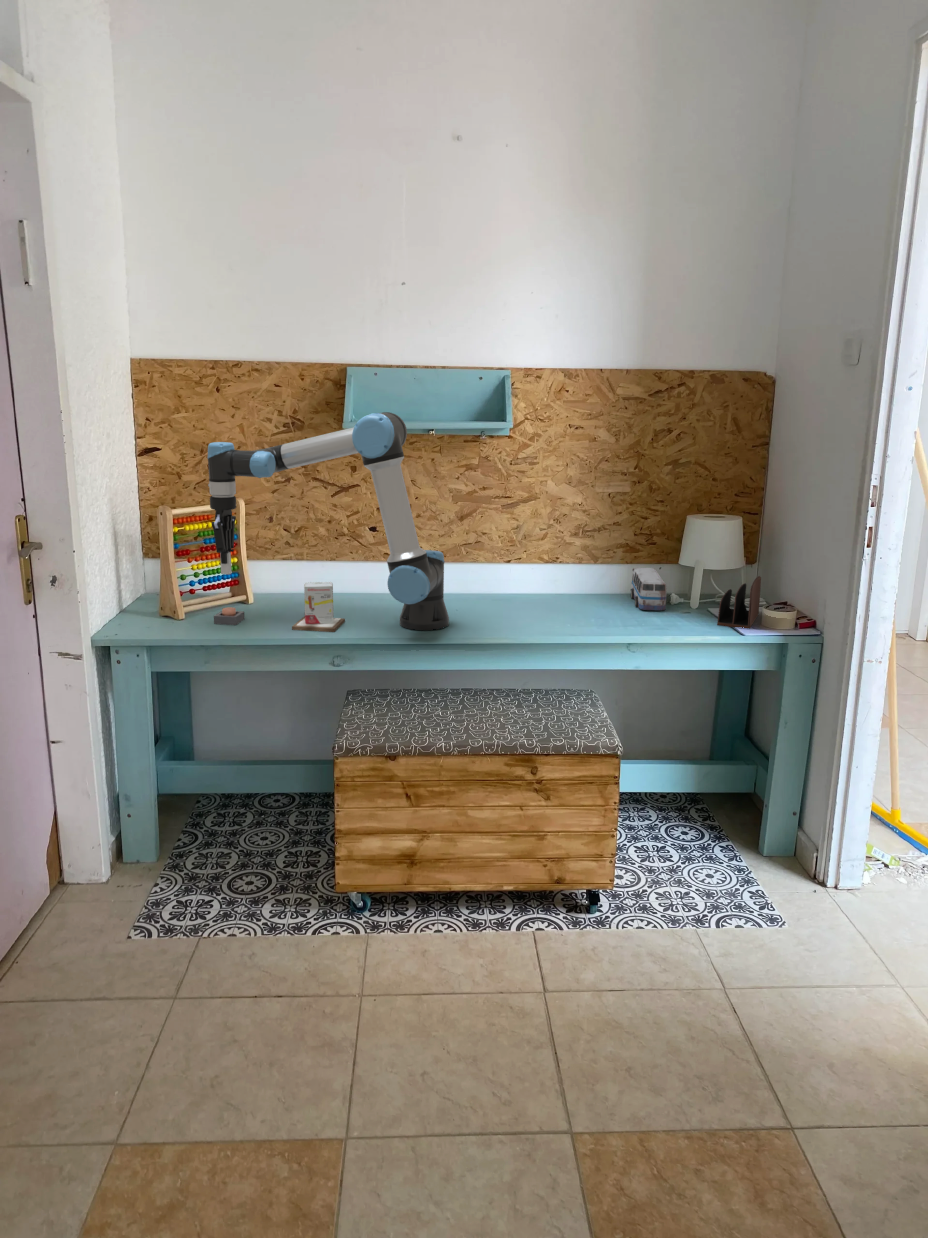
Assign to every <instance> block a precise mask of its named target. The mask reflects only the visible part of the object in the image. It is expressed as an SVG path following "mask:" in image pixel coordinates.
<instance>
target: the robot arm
mask: <svg viewBox="0 0 928 1238" xmlns="http://www.w3.org/2000/svg"><path fill="white" fill-rule="evenodd" d="M407 436H408V430H407V426H406V423H405V421H404V420H403V419H402V418H401V416H399V415H397V414H396V413H393V412H387V411H383V412H374V413H370V414H366V415H365V416H362V417H361V418H359V419H358V420H357V422H356V423H355V425H354V427H350V428H346V429H341V430H337V431H332V432H329V433H325V434H320V435H317V436H311V437H308V438H304V439H301V440H300V439H299V440H295V441H291V442H288V443H283V444H278V445H275V446H270V447H265V448H259V449H254V450H240V449H235V448H236V447H235V446H234V443H233V442H229V441H228V442H227V441H226V442H225V441H215V442H210V443H208V446H207V457H206V458H207V464H208V466H207V467H208V484H207V486H208V487H209V495H211V496H210V497H209V508H210V509H211V510H214V511H215V514H214V521H212V522H211V527H212V531H213V537H214V543H215V549H216V553H218V554H219V557H220V574H221V575H232V572H233V571H232V554H231V553H232V552H234V550H235V548H234V546H235V544H234V543H235V529H236V519H237V517H236V516H235V515H233V511H232V510H236V508H237V497H236V494H237V490H236V489H237V488H236V487H237V486H236V477H247V478H259V479H262V478H271V477H272V476H273V474H274V473H279V472H281V471H287V470H290V469H293V468H299V467H303V466H307V465H312V464H316V463H321V462H326V461H329V460H334V459H337V458H343V457H347V456H351V455H356V454H360V456H361V460H362V463H363V464H362V465H363V467H364V468H366V469H367V470H368V471H370V474H371V478H372V483H373V486H374V491H375V495H376V498H377V499H376V500H377V504H378V508H379V512H380V515H381V520H382V523H383V528H384V532H385V536H386V539H387V540H386V541H387V545H388V549H389V553H390V554H389V556H388V557H387V559H386V563H387V568H388V571H389V575H388V578H387V588H388V592H389V594H390V595H391V596H392V598H393V599H394V600H396V601H397V602H399V603H401V604H403V606H402V609H401V612H400V616H399V625H400V627H402V628H405V629H409V630H413V629H415V631H434V630H433V629H436V630H440V629H439V628H441V629H444V628H443V627H445V628H446V626H447V627H448V626H449V625H450V616H449V613H448V610H447V607H446V603H445V599H444V595H445V594H444V591H445V590H444V587H445V583H444V582H445V581H444V580H445V556H444V553H443V552H442V551H439V550H433V549H423V548H422V547H420V543H419V538H418V534H417V529H416V526H415V521H414V516H413V512H412V509H411V504H410V500H409V495H408V491H407V487H406V482H405V479H404V475H403V469H402V466H401V465H402V462H403V461H404V459H405V454H404V451H403V446H404V445H405V443H406V440H407Z"/></svg>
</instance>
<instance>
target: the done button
mask: <svg viewBox="0 0 928 1238" xmlns="http://www.w3.org/2000/svg"><path fill="white" fill-rule="evenodd" d="M221 611H222V615H223V616H235V615H236V611H237V610H236V607H231V606H228V607H223V608H222V609H221Z"/></svg>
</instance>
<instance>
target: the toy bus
mask: <svg viewBox="0 0 928 1238" xmlns="http://www.w3.org/2000/svg"><path fill="white" fill-rule="evenodd" d="M631 578H632V579H631V588H630V598H631V600H634V607H635V608H637V609H640V610H645V611H665V610H666V608H667V597H668V596H667V593H668V592H667V589H668V588H667V583H666V582H665V581H664V580H663V578H662V577H661V576H660V574H659V572H658V571H657V569H656V568H653V567H635V568H634V567H633V568H632V577H631Z"/></svg>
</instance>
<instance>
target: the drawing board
mask: <svg viewBox="0 0 928 1238" xmlns="http://www.w3.org/2000/svg"><path fill="white" fill-rule="evenodd" d="M345 622H346V618H342V617H334V623H323V624H306V623H305V615H304V616H303V617H301V619H299V620H298V621H297V622H295V623H294V624H293V625H292V626H291V630H293V631H309V632H326V633H327V632H328V633H335V632H336V631H337V630H338V629H339V628H340V627H341V626H342V625H343V624H345Z"/></svg>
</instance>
